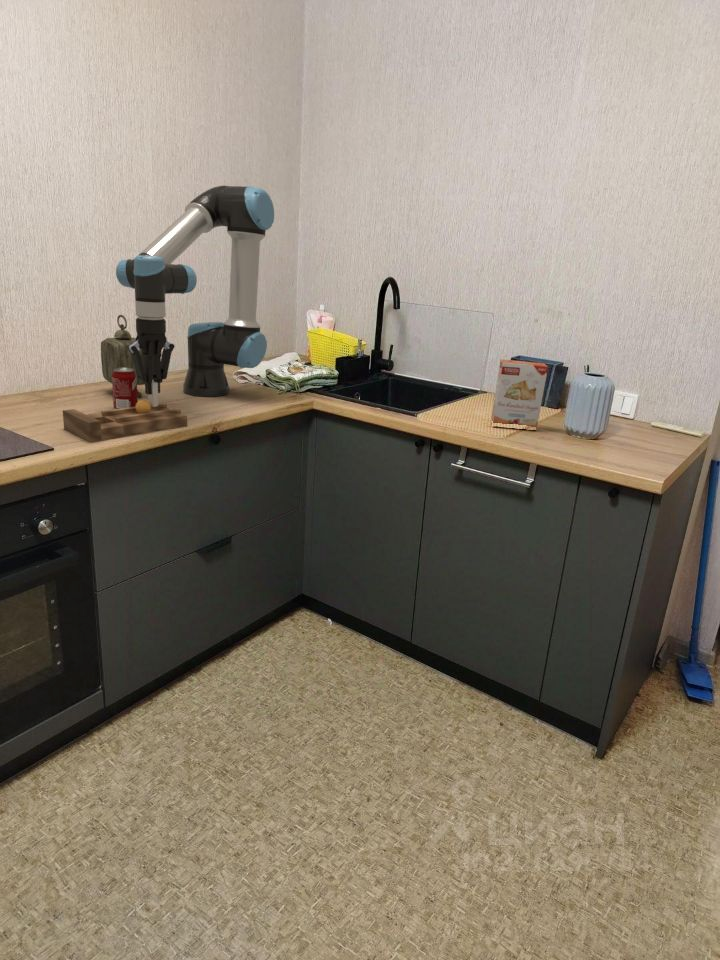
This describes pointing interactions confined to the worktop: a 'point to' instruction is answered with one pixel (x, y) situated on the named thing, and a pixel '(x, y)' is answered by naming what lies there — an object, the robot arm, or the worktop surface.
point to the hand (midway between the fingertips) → (153, 405)
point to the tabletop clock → (118, 353)
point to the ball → (143, 406)
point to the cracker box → (519, 392)
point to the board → (122, 422)
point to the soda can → (124, 388)
